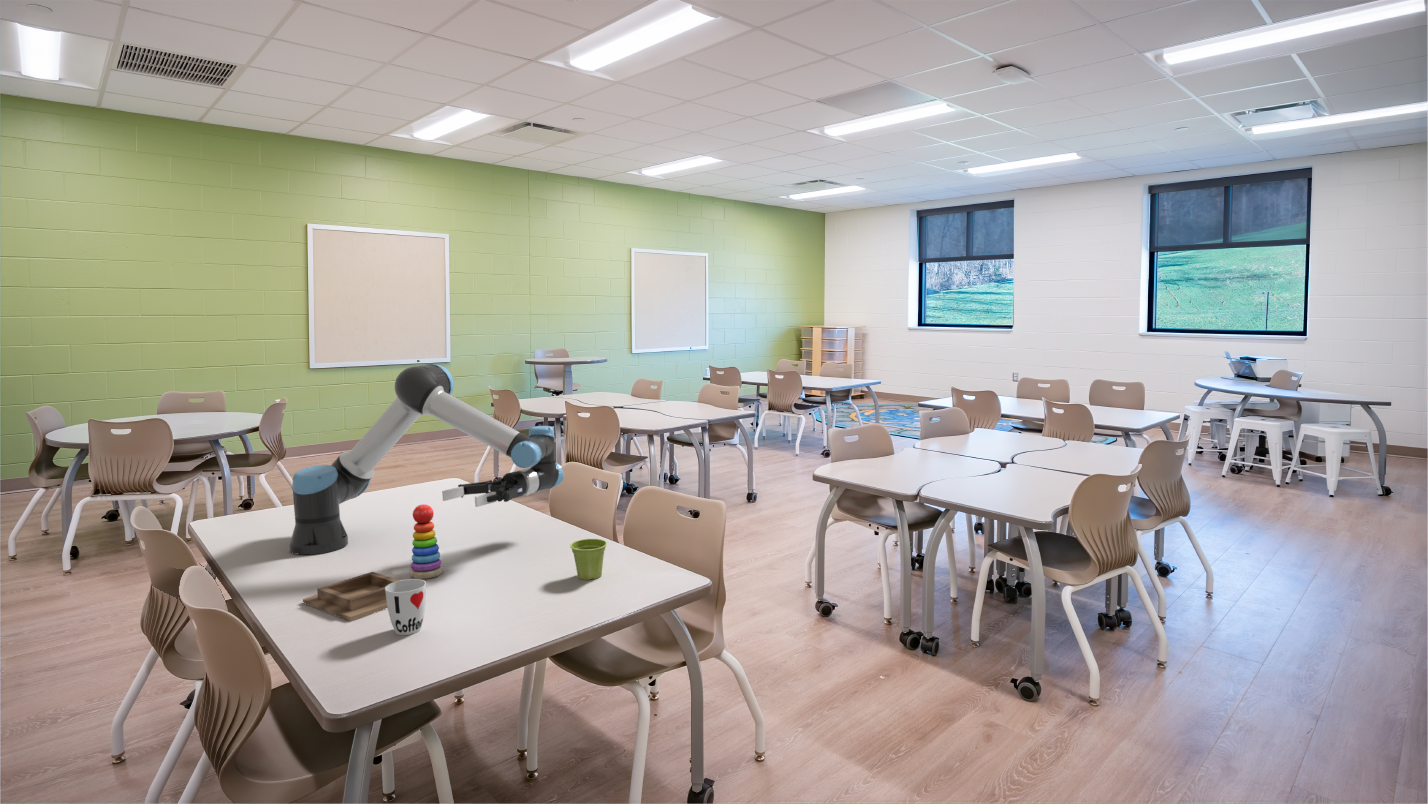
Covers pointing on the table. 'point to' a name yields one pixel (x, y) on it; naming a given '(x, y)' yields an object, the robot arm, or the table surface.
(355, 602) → the walnut jig
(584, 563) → the plant pot
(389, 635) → the table surface
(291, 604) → the table surface
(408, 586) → the cup
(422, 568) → the stacking toy
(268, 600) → the table surface
